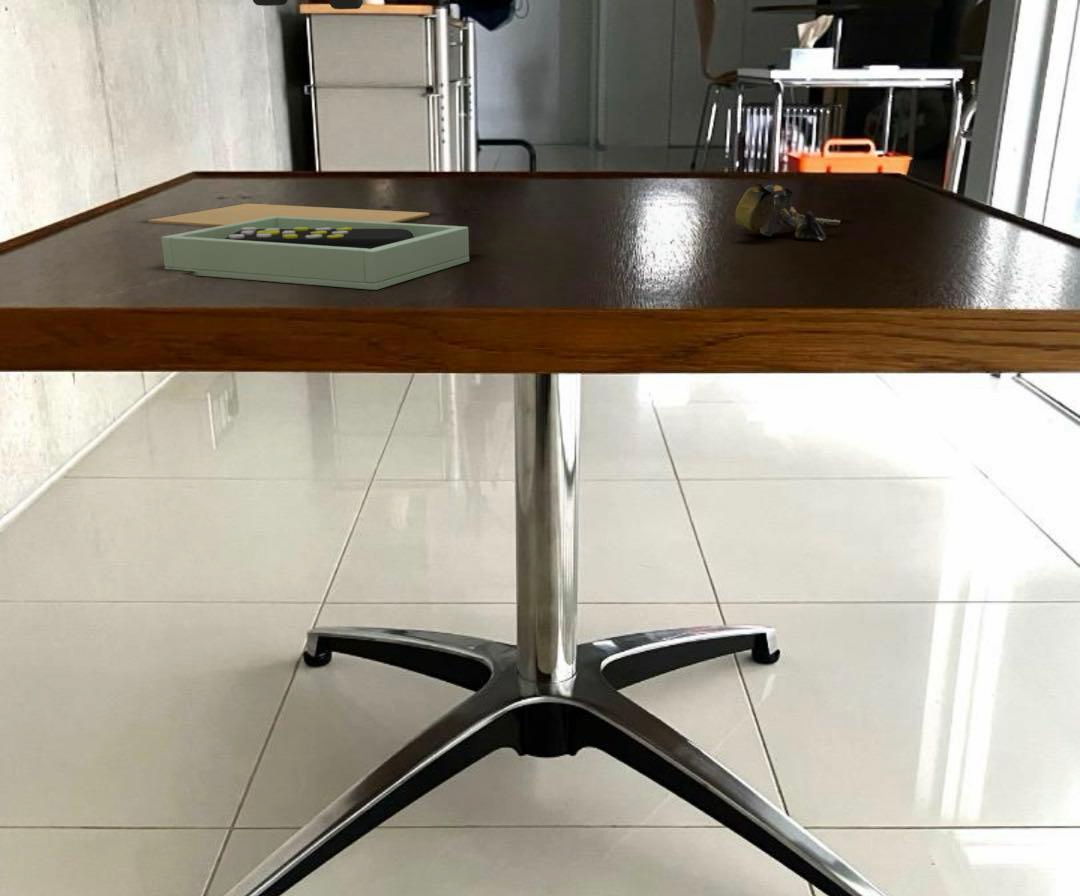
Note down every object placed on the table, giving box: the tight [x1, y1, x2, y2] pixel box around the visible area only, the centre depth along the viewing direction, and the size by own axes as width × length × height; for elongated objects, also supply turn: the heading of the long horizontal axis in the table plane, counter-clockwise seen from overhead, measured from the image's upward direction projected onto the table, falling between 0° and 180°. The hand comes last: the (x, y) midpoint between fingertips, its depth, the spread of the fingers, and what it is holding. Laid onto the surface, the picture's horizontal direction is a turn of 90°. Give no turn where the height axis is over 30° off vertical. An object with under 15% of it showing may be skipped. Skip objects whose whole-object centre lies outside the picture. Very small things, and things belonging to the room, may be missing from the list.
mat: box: [147, 203, 430, 227], centre depth 108 cm, size 20×14×1 cm
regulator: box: [734, 183, 842, 241], centre depth 98 cm, size 8×4×15 cm
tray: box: [160, 216, 470, 291], centre depth 84 cm, size 17×13×2 cm
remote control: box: [225, 227, 414, 249], centre depth 84 cm, size 6×13×2 cm, turn 89°
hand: (310, 7), depth 78 cm, fingers open, 8 cm apart
